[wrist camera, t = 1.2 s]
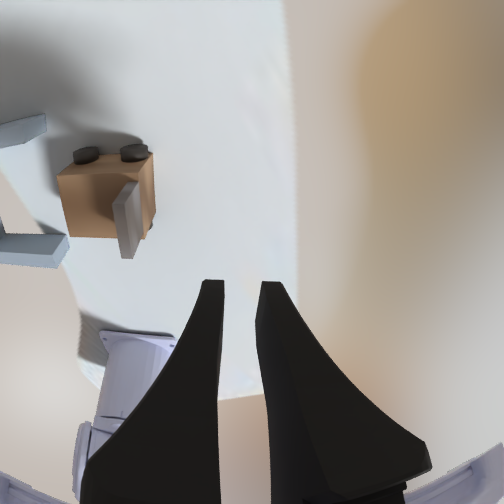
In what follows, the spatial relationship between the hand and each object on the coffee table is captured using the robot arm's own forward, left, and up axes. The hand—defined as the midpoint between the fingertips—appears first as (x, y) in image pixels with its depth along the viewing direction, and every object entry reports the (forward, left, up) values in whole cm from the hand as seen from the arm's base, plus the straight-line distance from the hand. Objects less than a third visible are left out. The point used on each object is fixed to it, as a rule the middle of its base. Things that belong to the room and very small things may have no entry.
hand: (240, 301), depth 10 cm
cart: (0, +8, -10) cm, 12 cm away
